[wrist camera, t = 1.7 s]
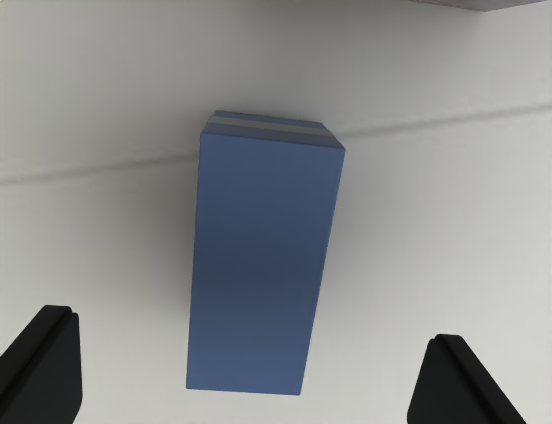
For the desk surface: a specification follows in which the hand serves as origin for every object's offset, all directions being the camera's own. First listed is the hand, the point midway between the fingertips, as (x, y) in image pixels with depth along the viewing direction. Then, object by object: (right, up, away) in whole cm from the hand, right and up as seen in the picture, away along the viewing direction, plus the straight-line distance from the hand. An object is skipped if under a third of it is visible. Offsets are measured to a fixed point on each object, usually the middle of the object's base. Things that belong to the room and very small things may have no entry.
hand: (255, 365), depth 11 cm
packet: (0, +3, +8) cm, 9 cm away
